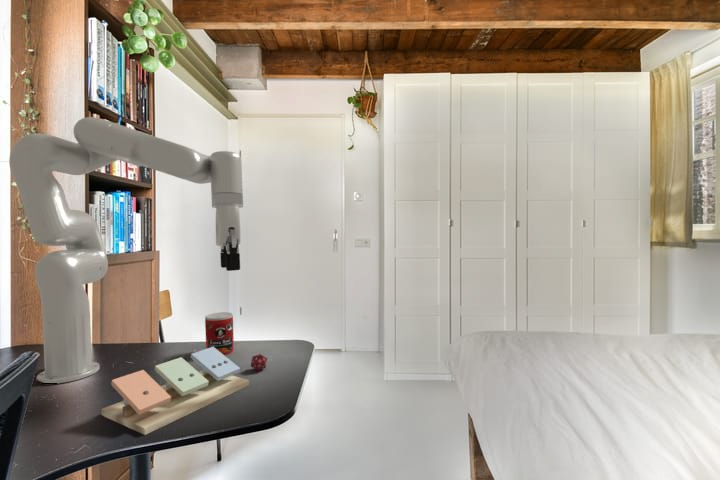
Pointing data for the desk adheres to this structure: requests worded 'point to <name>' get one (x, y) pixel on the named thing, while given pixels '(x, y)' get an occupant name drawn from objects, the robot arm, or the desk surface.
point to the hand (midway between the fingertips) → (230, 268)
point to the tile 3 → (215, 363)
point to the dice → (258, 362)
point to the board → (174, 405)
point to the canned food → (220, 332)
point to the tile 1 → (140, 391)
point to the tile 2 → (181, 376)
